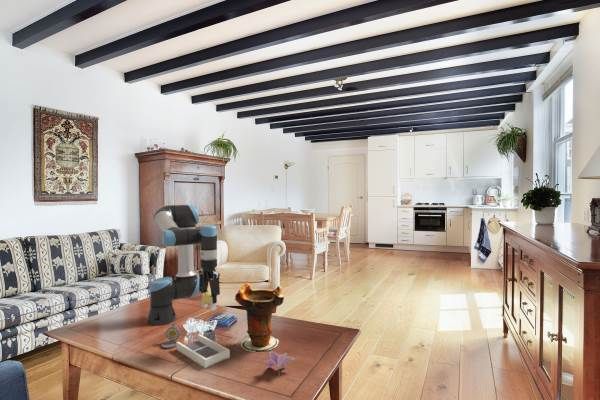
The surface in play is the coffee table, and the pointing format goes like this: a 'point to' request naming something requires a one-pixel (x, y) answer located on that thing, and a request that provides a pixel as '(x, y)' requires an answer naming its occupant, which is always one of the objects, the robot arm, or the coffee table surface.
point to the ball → (207, 297)
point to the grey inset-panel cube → (209, 334)
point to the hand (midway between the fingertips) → (209, 308)
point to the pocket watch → (170, 332)
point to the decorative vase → (259, 316)
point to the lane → (204, 351)
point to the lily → (278, 360)
